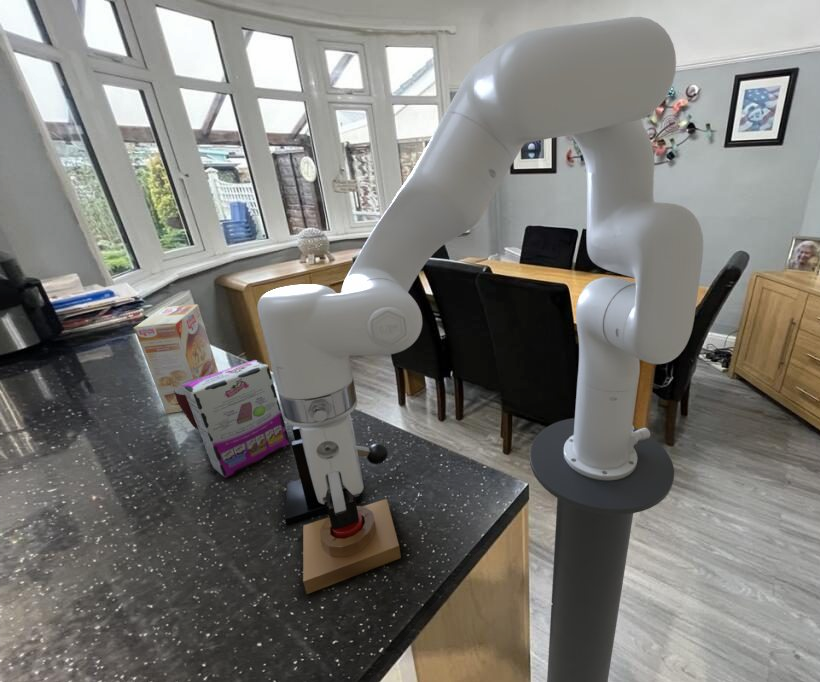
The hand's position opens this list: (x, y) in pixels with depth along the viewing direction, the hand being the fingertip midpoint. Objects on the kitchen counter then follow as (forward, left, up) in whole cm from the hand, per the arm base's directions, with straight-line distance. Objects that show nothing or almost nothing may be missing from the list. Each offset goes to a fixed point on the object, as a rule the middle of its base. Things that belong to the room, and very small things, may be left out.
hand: (345, 521), depth 51 cm
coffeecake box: (+28, -59, -5) cm, 65 cm away
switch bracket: (+3, -12, -5) cm, 13 cm away
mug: (+21, -42, -5) cm, 47 cm away
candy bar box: (+14, -28, -5) cm, 32 cm away
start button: (0, 0, -2) cm, 2 cm away
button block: (0, 0, -5) cm, 5 cm away
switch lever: (-1, -12, +1) cm, 12 cm away
